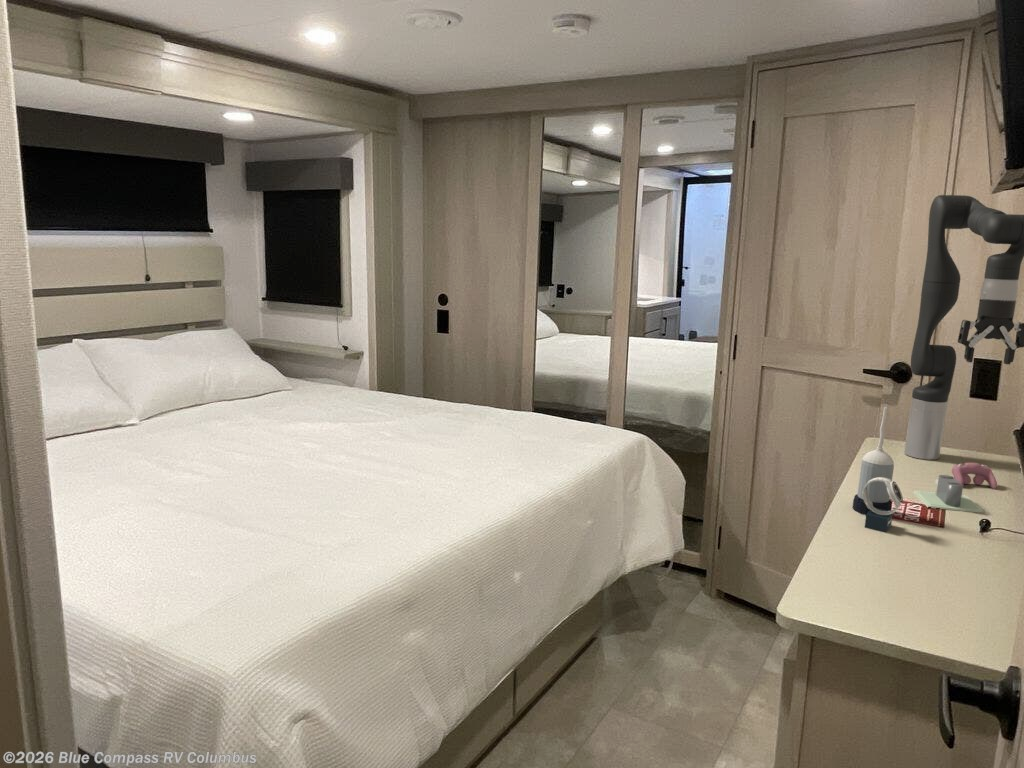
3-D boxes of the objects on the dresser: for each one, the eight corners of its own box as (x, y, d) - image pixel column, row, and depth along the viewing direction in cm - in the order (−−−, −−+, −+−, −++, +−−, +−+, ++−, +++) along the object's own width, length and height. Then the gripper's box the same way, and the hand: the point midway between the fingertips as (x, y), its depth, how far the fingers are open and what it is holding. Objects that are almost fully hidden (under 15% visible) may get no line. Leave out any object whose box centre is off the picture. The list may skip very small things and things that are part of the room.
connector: (931, 490, 187) (934, 471, 186) (945, 491, 186) (948, 472, 185) (947, 506, 176) (950, 486, 175) (962, 507, 175) (965, 487, 174)
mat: (913, 492, 187) (913, 490, 187) (965, 497, 184) (965, 494, 184) (927, 507, 176) (928, 505, 176) (983, 512, 174) (983, 510, 174)
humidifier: (875, 519, 168) (889, 412, 163) (844, 507, 175) (857, 404, 170) (898, 514, 172) (913, 409, 167) (867, 502, 179) (880, 402, 174)
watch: (895, 534, 159) (902, 486, 157) (856, 525, 164) (862, 478, 162) (901, 527, 164) (907, 480, 161) (862, 518, 168) (868, 472, 166)
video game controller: (989, 490, 195) (986, 464, 196) (999, 488, 190) (996, 461, 192) (950, 488, 195) (948, 462, 197) (959, 486, 191) (957, 459, 193)
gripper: (1023, 297, 183) (1012, 362, 186) (960, 295, 186) (951, 358, 189) (1037, 300, 176) (1026, 367, 179) (972, 297, 178) (962, 363, 182)
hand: (987, 362), depth 184 cm, fingers open, 8 cm apart
